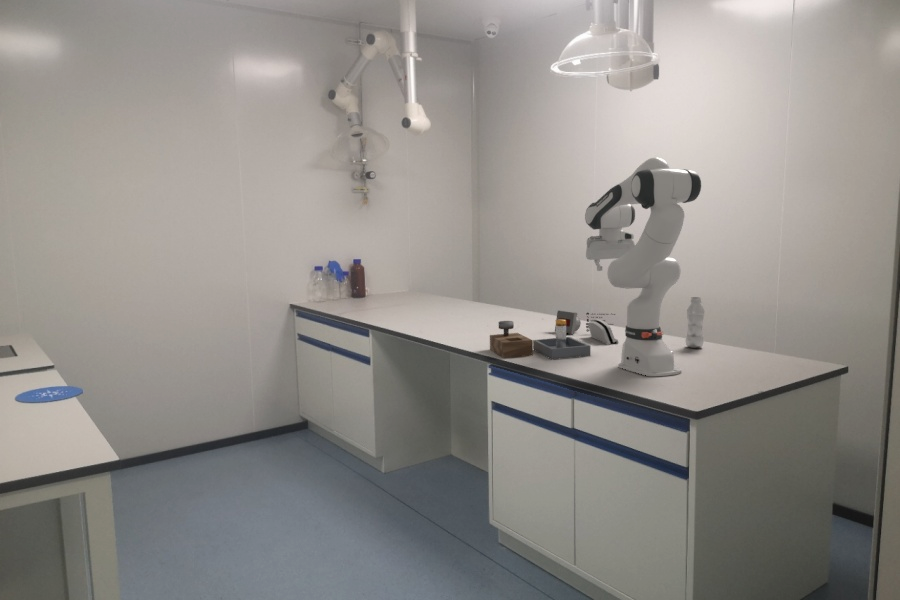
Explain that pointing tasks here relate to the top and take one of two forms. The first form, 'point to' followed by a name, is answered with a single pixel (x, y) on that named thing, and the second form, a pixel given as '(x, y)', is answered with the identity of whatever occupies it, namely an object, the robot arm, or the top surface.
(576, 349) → the tray
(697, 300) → the plastic bottle
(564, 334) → the gold-capped glass vial
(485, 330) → the top surface
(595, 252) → the robot arm
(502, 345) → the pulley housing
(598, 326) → the black-striped white block
